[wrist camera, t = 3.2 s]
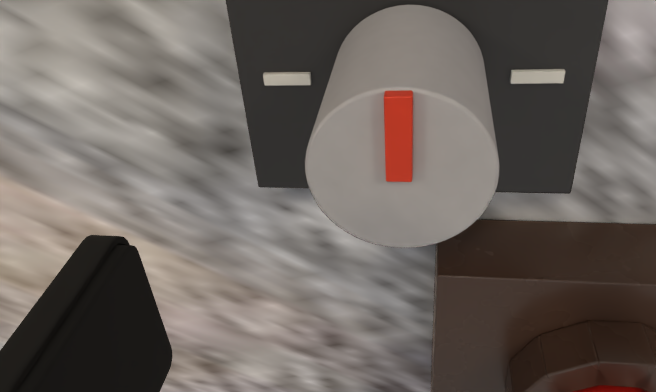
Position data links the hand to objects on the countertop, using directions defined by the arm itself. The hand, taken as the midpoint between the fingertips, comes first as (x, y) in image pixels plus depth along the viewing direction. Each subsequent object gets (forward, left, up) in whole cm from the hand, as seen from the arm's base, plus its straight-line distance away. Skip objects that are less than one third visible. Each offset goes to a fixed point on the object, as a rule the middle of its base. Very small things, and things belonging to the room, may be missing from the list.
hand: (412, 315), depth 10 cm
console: (0, 0, -12) cm, 12 cm away
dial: (0, 0, -9) cm, 9 cm away
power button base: (+7, -12, -12) cm, 18 cm away
